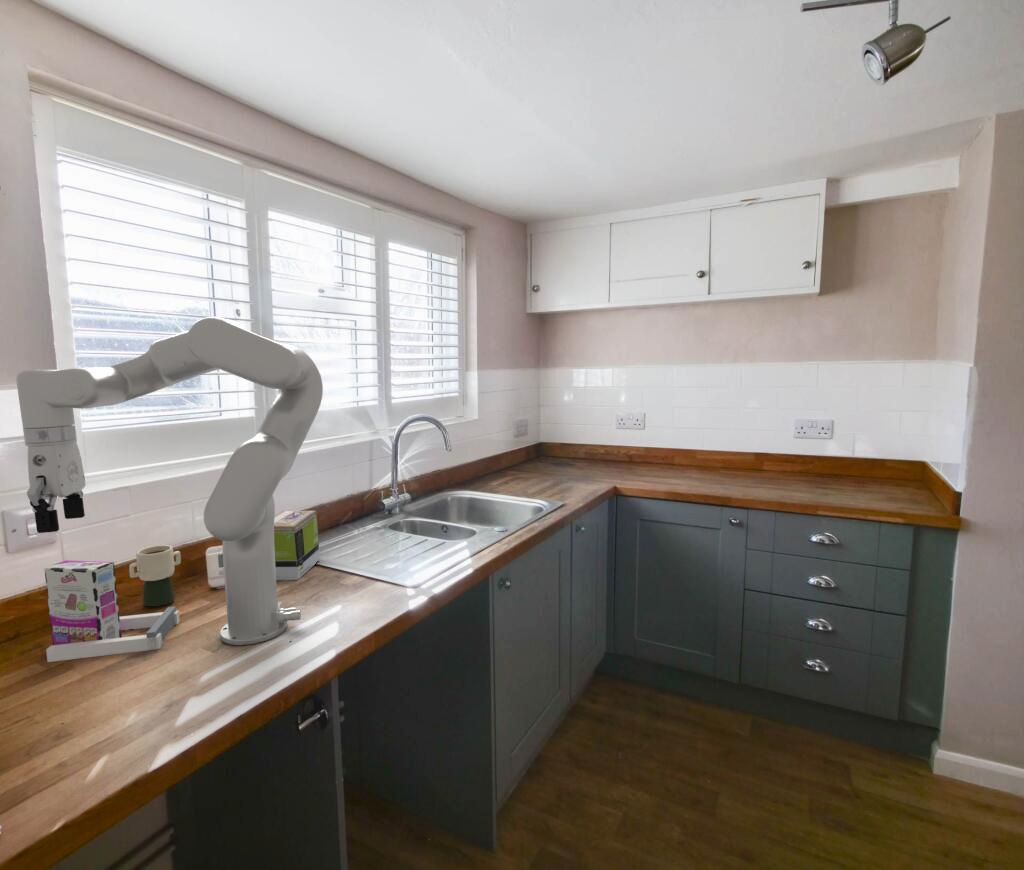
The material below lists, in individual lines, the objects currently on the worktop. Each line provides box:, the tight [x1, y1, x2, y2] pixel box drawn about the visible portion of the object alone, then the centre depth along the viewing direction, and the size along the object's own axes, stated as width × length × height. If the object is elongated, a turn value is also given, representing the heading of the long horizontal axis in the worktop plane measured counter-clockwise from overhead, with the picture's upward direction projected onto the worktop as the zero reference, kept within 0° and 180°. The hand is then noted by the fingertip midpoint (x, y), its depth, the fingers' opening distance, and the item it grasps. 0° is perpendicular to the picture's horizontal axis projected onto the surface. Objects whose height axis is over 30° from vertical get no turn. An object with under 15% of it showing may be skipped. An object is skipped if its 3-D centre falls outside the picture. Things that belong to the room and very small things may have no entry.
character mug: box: [128, 544, 182, 607], centre depth 127 cm, size 11×7×13 cm, turn 148°
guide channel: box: [45, 605, 180, 663], centre depth 111 cm, size 18×12×4 cm, turn 105°
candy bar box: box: [44, 559, 122, 645], centre depth 109 cm, size 11×5×16 cm, turn 82°
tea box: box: [274, 510, 321, 581], centre depth 148 cm, size 15×10×15 cm, turn 178°
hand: (62, 524), depth 106 cm, fingers open, 9 cm apart
